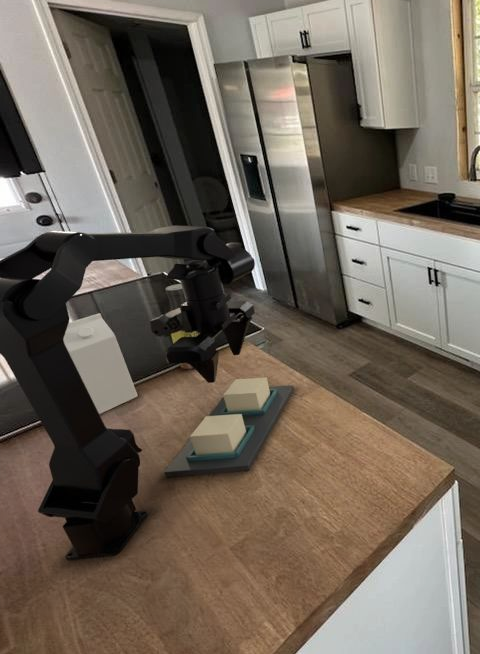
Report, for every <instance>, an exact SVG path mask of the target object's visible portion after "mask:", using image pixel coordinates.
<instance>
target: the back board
mask: <svg viewBox="0 0 480 654" xmlns="http://www.w3.org/2000/svg"><path fill="white" fill-rule="evenodd" d="M269 390H270V397H269V399H268V400H267V402H266V403H265V405H264V406H263V408H262V410H250V411H235V412H228V410H227V407H226V403H225V400H224V396H223V397H222V398H221V400H220V401H219V402H218V403H217V405H216V406H215V407H214V408H213V410H212V411H211V412H210V413H209V415H208V416H219V415H233V414H242V418H243V422H244V425H245V429H246V435H245V436H244V438H243V440H242V441H241V443H240V444H239V446H238V447H237V449H236V451H235V452H234V453H221V454H209V455H196V453H195V450H194V447H193V444H192V441H191V438H189V440H188V441H187V442H186V444H184V446H183V447H182V449H181V450H180V451H179V453H178V454H177V455H176V456H175V457H174V458H173V460H172V461H171V463H170V464H169V465H168V467H167V468H166V469H165V471H164V472H163V473H164V477H165V478H175V477H177V478H178V477H189V476H199V475H200V476H201V475H212V474H223V473H236V472H247V471H250V470H251V468H252V466H253V464H254V463H255V461H256V459H257V457H258V456H259V454H260V452H261V451H262V449H263V446H264V445H265V443H266V441H267V439H268V438H269V436H270V435H271V432H272V430H273V429H274V427H275V426H276V424H277V421H278V420H279V418H280V417H281V415H282V412H283V411H284V409H285V407H286V405H287V404H288V402H289V400H290V398H291V396H292V395H293V393H294V391H295V386H294V384H291V385H289V384H288V385H274V386H269Z"/></svg>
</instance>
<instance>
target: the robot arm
mask: <svg viewBox="0 0 480 654" xmlns="http://www.w3.org/2000/svg"><path fill="white" fill-rule="evenodd" d="M146 258H165V259H173V260H174V259H175V260H190V261H191V262H189V263H186V264H185V263H175V264H174V265H173V267H172V268H171V270H169V271H168V273H167V274H166V277H165V278H166V280H172V281H180V284H181V285H182V289H183V292H184V295H185V299H186V303H184V304H183V305H181V307H180V308H178V309H176V310H173V311H171V312H169V311H168V312H166V313H165V314H161V315H160V316H155V317H154V318H153V319H151V320H149V325H150V330H151V333H153V334H154V335H155V336H156V337H160V338H161V337H164V338H167V337H170V336H171V334H173V333H176V332H178V331H181V330H184V331H185V333H192V332H194V331H197V333H200V334H199V335H198V336H196V337H181V338H180V339H178V340H177V341H176V342H175V343H174V344H173V343H171V345H170V346H169V347H167V349H166V350H165V351H164V352H163V353H164V356H165V359H166V362H167V363H168V365H169V364H180V363H187V364H189V365H191V366H192V367H193V369H194V370H195V371H196V372H197V373H198V374H199V375H200V376H201V377H202V378H203V379H204V380H205V381H206V383H207V384H214V383H215V382H216V380H217V376H218V375H217V374H218V365H219V357H220V355H219V354H220V350H217V348H218V344H217V341H216V337H218V336H219V335H220V334H221V333H222V332H223V333H224V336H225V339H226V341H227V344H228V346H229V348H230V351H231V353H232V356H239V355H240V354H241V352H242V348H243V345H244V342H245V339H246V336H247V332H248V330H249V328H250V327H249V326H250V324H251V321H252V320H253V317H252V316H253V315H254V314H255V313H256V312H255V306H254V304H253V303H252V302H250V301H248V300H234V301H231V300H232V294H231V293H226V292H225V289H224V285H229V284H231V283H233V282H235V281H236V280H239V279H241V278H242V277H245V276H246V275H248V274H250V273H252V272H253V271H254V269H255V266H256V262H255V259H254V257H253V256H252V254H251V253H250V252H249V251H247V250H246V249H245V248H243V247H242V243H241V242H232V241H231V242H228V243H225V242H224V241H223V240H222V239H221V238H220V237H219V236H218V235H217V234H216V232H215V230H214V229H213V228H212V227H208V226H192V225H168V226H164V227H158V228H155V229H153V230H150V231H146V232H80V231H79V232H78V231H58V230H51V231H46V232H43V233H41V234H39V235H38V236H36V237H35V238H34V239H33V240H32V241H31V242H29V243H28V244H27V245H26V246H25V247H23V248H21V249H19V250H17V251H16V252H14V253H11V254H10V255H7V256H6V257H4V258H2V259H0V355H1V356H2V357H3V359H4V360H5V362H6V364H7V365H8V367H9V369H10V370H11V373H12V374H13V376H14V377H15V379H16V381H17V383H18V384H19V386H20V388H21V389H22V391H23V393H24V395H25V397H26V398H27V400H28V402H29V404H30V405H31V407H32V410H34V413H35V414H36V416H37V418H38V419H39V421H40V423H41V425H42V426H43V428H44V430H45V432H46V433H47V435H48V437H49V439H50V441H51V442H52V444H53V447H54V448H53V451H52V453H51V456H50V459H49V461H48V467H49V471H50V475H51V478H52V480H51V482H50V484H49V486H48V489H47V490H46V493H45V494H44V496H43V498H42V501H41V503H40V505H39V507H38V509H37V512H38V513H39V514H41V515H43V516H46V517H47V518H61V519H62V518H63V519H65V523H64V524H62V529H63V530H64V532H65V534H66V536H67V538H68V540H69V541H70V544H71V546H72V547H71V548H70V550H69V551H68V552H67V553H66V554H65V556H64V559H65V560H66V561H76V560H84V559H93V558H103V557H104V558H105V557H113V556H116V555H118V554H120V552H122V550H123V549H124V547H125V546H126V545H127V543H128V542H129V541H130V539H131V538H132V537H133V536H134V534H135V533H136V531H137V530H138V529H139V528H140V526H141V525H142V523H143V522H144V521H145V519H147V516H148V515H149V513H148V511H147V510H139V511H137V508H136V506H135V503H134V501H133V499H134V498H135V497H136V496H137V495H138V494H139V471H140V469H139V468H140V466H141V458H140V454H139V453H142V452H143V448H140V447H139V446H138V445H137V443H136V437H135V434H134V433H133V431H132V430H131V429H124V428H113V427H107V426H106V425H105V423H104V420H103V419H102V417H101V414H99V413H98V411H97V409H96V407H95V404H94V402H93V400H92V398H91V396H90V394H89V392H88V390H87V388H86V386H85V384H84V382H83V380H82V378H81V376H80V374H79V372H78V370H77V368H76V366H75V364H74V362H73V360H72V358H71V356H70V354H69V352H68V350H67V348H66V346H65V344H64V340H63V338H64V335H65V332H66V329H67V326H68V323H69V322H70V315H69V311H68V310H69V309H68V306H67V303H68V302H69V301H70V300H71V299H72V298H73V297H74V296H75V294H76V293H77V292H79V291H80V289H81V287H82V285H83V281H84V277H85V274H86V270H87V268H88V266H90V264H92V263H93V262H102V261H117V260H129V259H131V260H133V259H146ZM47 271H48V272H47ZM45 272H46V274H45V275H44V276H43V277H41V279H40V278H37V277H39V276H40V275H42V274H44V273H45Z"/></svg>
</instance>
